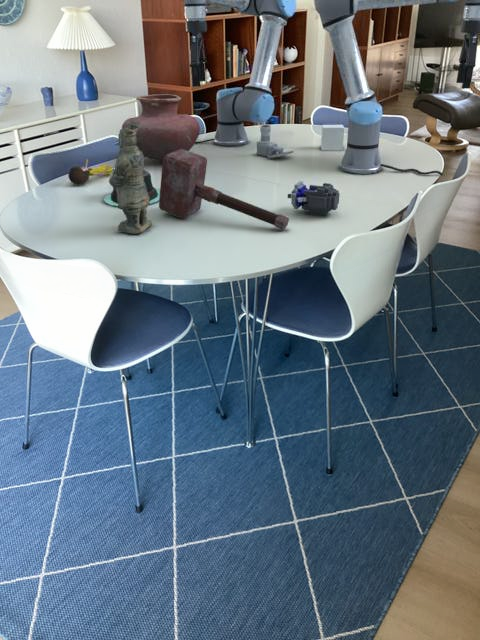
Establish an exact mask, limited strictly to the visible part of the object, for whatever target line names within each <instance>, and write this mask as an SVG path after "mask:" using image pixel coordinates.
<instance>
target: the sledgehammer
mask: <svg viewBox="0 0 480 640" xmlns="http://www.w3.org/2000/svg"><path fill="white" fill-rule="evenodd" d="M207 164H208V159H207V158H206V157H205V156H203V155H200V154H197V153H195V152H193V151H190V150H189V151H187V150H184V149H179V150H177V151H174V152H172V153H170V154H167V155H165V156H164V158H163V162H162V167H161V176H160V187H159V190H160V198H159V200H158V208H159V210H160V211H162V212H165V213H168V214H170V215H173V216H174V217H177V218H180V219H182V220H185V219H187V218H188V217H190V216H192V215H193V214H195V213H197V212H198V211H199V210H200V209H201V207H202V201H203V200H204V201H207V202H209V203H213V204H215V205H220V206H223V207H225V208H228V209H231V210H233V211H236V212H239V213H241V214H243V215H245V216H248V217H252V218H255V219H257V220H260V221H262V222H264V223H267V224H270V225H273V226H274V228H276V229H280V230H282V231H285V230H286V228H287V227H288V224H289V221H290V218H289V217H288V216H286V215H283V214H281V213H279V214H277V213H275V212H273V211H269V210H267V209H265V208H262V207H259V206H256V205H254V204H251V203H248V202H246V201H244V200H242V199H238V198H236V197H233V196H231V195H228V194H225V193H223V192H222V191H220V190H218V189H215V188H214V187H211V186H208V185H205V181H206V175H207Z"/></svg>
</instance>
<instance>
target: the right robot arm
mask: <svg viewBox="0 0 480 640" xmlns="http://www.w3.org/2000/svg"><path fill="white" fill-rule="evenodd" d="M313 2H314V8H315V10H316V12H317V14H318V16H319V19H320V23H321V25H322V29H323V30H325V31H327V32H328V35H329V38H330V42H331V46H332V49H333V52H334V55H335V56H334V57H335V59H336V63H337V67H338V70H339V73H340V77H341V81H342V85H343V89H344V91H345V94H346V99H345V101H344V106H345V111H346V113H347V117H348V126H347V138H346V139H347V140H346V149H345V151H344V154H343V156H342V158H341V162H340V170H341V171H343V172H345V173H349V174H355V175H356V174H357V175H369V174H370V175H371V174H376V173H378V172H380V171H382V167H383V168H387V169H391V170H394V171H397V172H401V173H402V172H403V173H404V172H405V173H406V172H415V173H417V174H419V175H424V176H426V175H431V174H438V175H440V176H442V177H443V176H444V174H443V172H441V171H439V170H430V171H424V172H423V171H421V170H419V169H417V168H398V167H395V166H392V165H388V164H383V163H382V161H381V155H380V150H379V147H380V145H379V144H380V138H381V137H380V136H381V127H382V117H383V107H382V105H381V104H380V103H378V101H377V97H376V93H375V91H373V90H372V89H370V87H369V83H368V79H367V75H366V72H365V67H364V64H363V60H362V55H361V53H360V52H361V51H360V48H359V46H358V41H357V37H356V33H355V30H354V26H353V20H354V19H355V14H356V13H357V12H359V11H363V10H364V11H365V10H375V9H384V8H396V7H405V6H414V5H415V6H416V5H426V4H437V3H438V4H439V3H447V2H448V3H449V2H450V3H455V2H459V0H313ZM462 19H463V20H462V22H461V28H460V32H461V33H462V34H464V38H463V42H462V46H461V51H460V55H459V58H458V63H459V64H458V70H457V76H456V81H455V83H456V84H461V89H471V85H472V80H473V75H474V74H473V73H474V68H475V67H476V65H477V64H476V63H477V61H476V60H477V53H478V42H479V36H477V34H480V0H465V3H464V8H463V15H462Z"/></svg>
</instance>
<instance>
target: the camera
mask: <svg viewBox="0 0 480 640" xmlns="http://www.w3.org/2000/svg"><path fill="white" fill-rule="evenodd" d="M271 131H272V126H271V125H270V124H260V125H259V132H260V140H259V141H257V142H256V155H257V156H262V157H267V159H272V158H278V157H283V156H287V155H291V154H292V153H294V152H295V151H294V150H290V151H289V150H288V151H284V148H283V147H280V146H279V145H278V143H276V142H271V133H272V132H271Z"/></svg>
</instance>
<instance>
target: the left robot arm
mask: <svg viewBox="0 0 480 640" xmlns="http://www.w3.org/2000/svg"><path fill="white" fill-rule="evenodd" d="M179 1H181V2H184V19H186V20H185V32H186V33H188V34H192V35H190V36H189V37H190V38H189V39H190V63H189V68H191V76H192V79H191V80H192V87H194V88H195V87H201V85H202V84H201V82H207V81H206V79H207V78H206V63H207V59H206V53H205V45H204V35H203V33H207V31H208V25H207V24H208V23H207V20H206V19H207V13H208V9H207V6H206V5H212V6H218V7H223V8H224V7H225V8H230V9H234V10H235V12H237V13H242V14H247V15H250V16H254V17H258V18H259V20H260V22H261V25H260V30H259V34H258V40H257V45H256V50H255V54H254V58H253V64H252V68H251V69H252V70H251V74H250V78H249V83H247V84H246V85H244V89H243V87H231V88H225V89H220V90H218V91H217V93H216V102H215V103H216V119H217V120H216V121H217V127H216V131H215V134H214V138H209V139H206V140H201V141H196V142H195V144H203V143H208V142H211V141H213V142H214V144H215V145H217V146H220V147H238V146H244V145H246V144H247V143H248V138H249V137H248V134H247V131H246V129H245V125H244V122H250V123H254V124H257V123H258V124H263V123H266V122H267V121H269V119H270V118H271V117H272V115H273V114H274V110H275V99H274V97H273V96H272V89H271V88H270V84H271V80H272V75H273V71H274V68H275V67H274V65H275V61H276V57H277V54H278V53H277V52H278V48H279V44H280V39H281V34H282V30H283V27H285V26H287V23H288V19H289V18H291V17H293V15H295V13H296V10H297V0H179Z"/></svg>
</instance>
